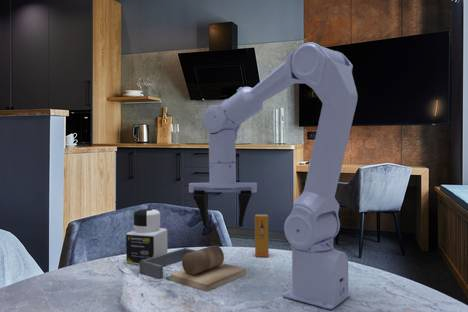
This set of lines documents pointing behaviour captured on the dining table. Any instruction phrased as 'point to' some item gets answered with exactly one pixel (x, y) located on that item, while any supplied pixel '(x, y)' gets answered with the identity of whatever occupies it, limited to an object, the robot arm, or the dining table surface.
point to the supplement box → (261, 236)
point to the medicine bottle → (146, 237)
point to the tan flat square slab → (209, 277)
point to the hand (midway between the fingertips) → (223, 225)
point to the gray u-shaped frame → (161, 262)
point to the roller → (202, 260)
